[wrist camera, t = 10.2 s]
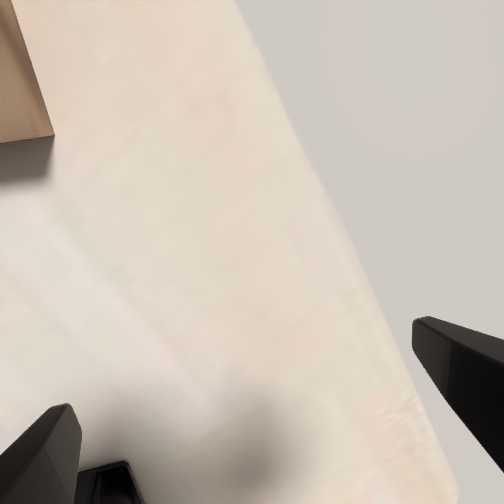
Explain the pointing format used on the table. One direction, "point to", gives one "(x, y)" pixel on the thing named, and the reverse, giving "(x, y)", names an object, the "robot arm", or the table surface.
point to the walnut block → (18, 85)
